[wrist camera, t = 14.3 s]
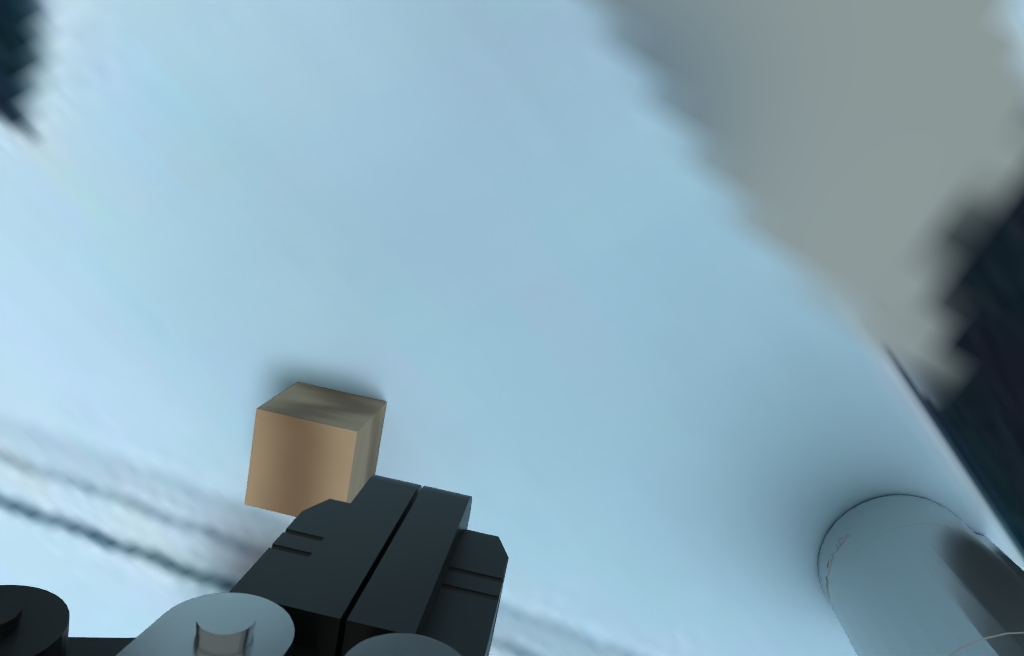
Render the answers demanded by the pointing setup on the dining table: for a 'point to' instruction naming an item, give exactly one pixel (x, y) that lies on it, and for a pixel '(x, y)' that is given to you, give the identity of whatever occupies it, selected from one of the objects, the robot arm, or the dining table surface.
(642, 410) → the dining table surface
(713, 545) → the dining table surface
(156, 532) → the dining table surface
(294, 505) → the walnut block
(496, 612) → the robot arm
